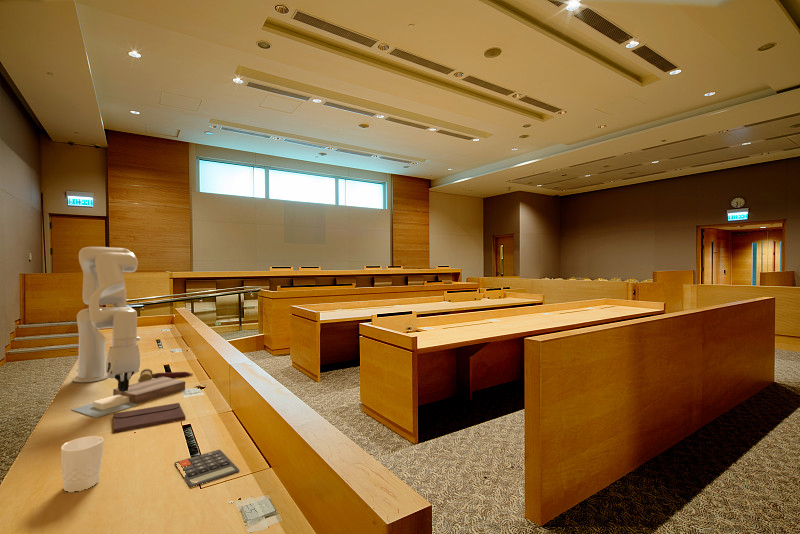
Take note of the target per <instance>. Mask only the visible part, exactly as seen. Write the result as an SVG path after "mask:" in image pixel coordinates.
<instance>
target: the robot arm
mask: <svg viewBox="0 0 800 534" xmlns="http://www.w3.org/2000/svg"><path fill="white" fill-rule="evenodd" d="M78 262H79V265H80V267H81V270H82V275H83V278H82V280H83V281H82V297H81V298H82V301H83V304H85V305H86V306H87V305H88V307H87V308H84V309H83V308H82V309H81V310H79V312H78V313H77V314H76V323H77V327H78V328H77V330H78V358H77V359H78V360H77V361H78V363H77V369H76V372H77V375H76V376H74V377H73V380H72V381H73V382H74V383H80V384H81V383H94V382H99V381H103V380H106V379H115V380H116V381H117V388H118V389H119V391H122V392H124V391H128V387H129V385H130V380H131V379H132V377H133V375H134V374H137V373H139V372H140V366H141V353H140V347H139V344H137V343H138V342H139V341H140V337H139V336H137V333H138V332H137V331H138V312H137V310H135V309H134V308H133V307H130V306H127V299H128V298H127V295H128V294H127V289H126V280H125V276H124V275H125V274H124V273H135V272H136V271H137V270H138V266H139V261H138V258H137V256H136V254H134V252H132V251H130V249H127V248H124V247H113V246H112V247H108V246H87V247H83V248H81V249H80V250H79V252H78ZM105 305H107V306H106V307H105ZM108 305H112V306H108ZM100 306H101V307H100ZM102 306H104V307H102ZM101 329H102V330H103V329H112V339H111V340H112V344H111V345H112V346H110V347H108V351H107V353H106V348H107V346H106V345H107V342H106V341H107V339H106V336H105V335H104V333H102V332H101V331H100V330H101ZM106 354H107V355H106Z"/></svg>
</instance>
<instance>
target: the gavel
mask: <svg viewBox="0 0 800 534" xmlns="http://www.w3.org/2000/svg"><path fill="white" fill-rule="evenodd" d="M139 375H140V376H139V378H138V381H139V382H138V383H140V382H144V381H148V380H152V379H155V378H159V377H168V378H172V377H173V378H172V379H176V377H178V378H187V377H190V376H193V375H194V373H193V372H188V371H174V372H173V371H171V372H156V373H153V370H152V369H150V368H144V369H143V370H141V372H140V374H139ZM186 376H187V377H186Z"/></svg>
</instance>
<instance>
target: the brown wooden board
mask: <svg viewBox="0 0 800 534" xmlns="http://www.w3.org/2000/svg"><path fill="white" fill-rule="evenodd" d="M112 390H113V391H112V392H113V393H112V396H115V395H118V394H121V395H125V396H129V402H131V403H135V404H138V405H139V404H141V403H145V402H149V401H153V400H155V399H159V398H162V397H165V396H170V395H172V394H176V393H178V392H183V391H185V390H186V381H185V380H181V379H176V378H168V377H159V378H152V379H151V380H148V381H144V382H136V383H132V384H129V387H128V391H124V392H122V391H119V389H118V387H116V388H113V389H112Z"/></svg>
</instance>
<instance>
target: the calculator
mask: <svg viewBox="0 0 800 534" xmlns="http://www.w3.org/2000/svg"><path fill="white" fill-rule="evenodd" d="M176 463H179V464H180V465H181V467H182V468H183V467H184V468H183V471H185V473H186V475H185V477H184V478H185V479H184V478H183V479H184V481H185V480H186V481H187V482H186V481H185V482H186V484H187V483H188V484H189V485H188V484H187V485H188V487H189V486H190V487H193V486H196V485H199V484H202V483H205V484H207V483H206V482H208V483H210V481H211V482H213V480H214V481H216V480H219V479H222V478H225V477H229V476H231V475H234V474H237V473H239V472H240V469H239V467H237V466H236V464H235V463H234V462H233V461H232V460H231V459H230V458H229V457H228V456H227V455H226V454H225V453H224V452H223V451H222V450H221V449H216V450H213V451H210V452H206V453H202V454H199V455H196V456H192V457H189V458H184V459H182V460H179V461H175V462H174V466H175V465H177V464H176ZM186 466H187V467H186ZM190 480H191V481H194V482H195V481H197V480H198V482H197V483H194V482H191V481H190ZM202 485H203V484H202ZM199 486H200V485H199ZM190 487H189V488H190ZM196 487H197V486H196ZM193 488H194V487H193Z"/></svg>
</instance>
